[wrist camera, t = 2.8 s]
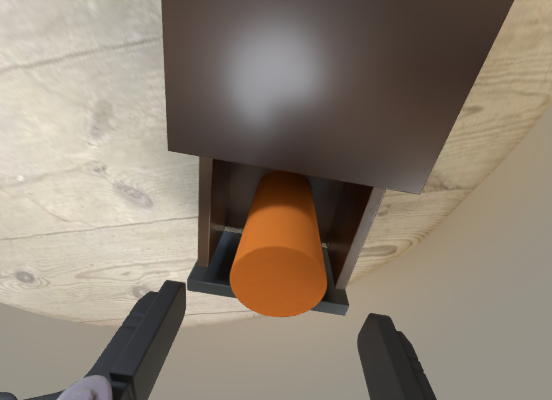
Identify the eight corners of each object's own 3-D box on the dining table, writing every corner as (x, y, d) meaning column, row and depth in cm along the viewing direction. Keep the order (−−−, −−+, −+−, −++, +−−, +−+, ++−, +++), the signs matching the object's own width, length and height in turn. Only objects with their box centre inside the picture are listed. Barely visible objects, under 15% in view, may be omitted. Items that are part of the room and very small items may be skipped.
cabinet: (372, 151, 21) (420, 195, 13) (214, 123, 20) (167, 151, 13) (467, -119, 14) (697, -375, 6) (226, -168, 13) (137, -506, 6)
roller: (305, 223, 22) (314, 324, 13) (252, 214, 22) (225, 309, 13) (317, 174, 20) (339, 255, 11) (259, 164, 20) (233, 237, 11)
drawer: (329, 267, 25) (340, 326, 19) (212, 247, 25) (187, 301, 19) (383, 111, 18) (428, 127, 12) (220, 81, 18) (185, 83, 12)
